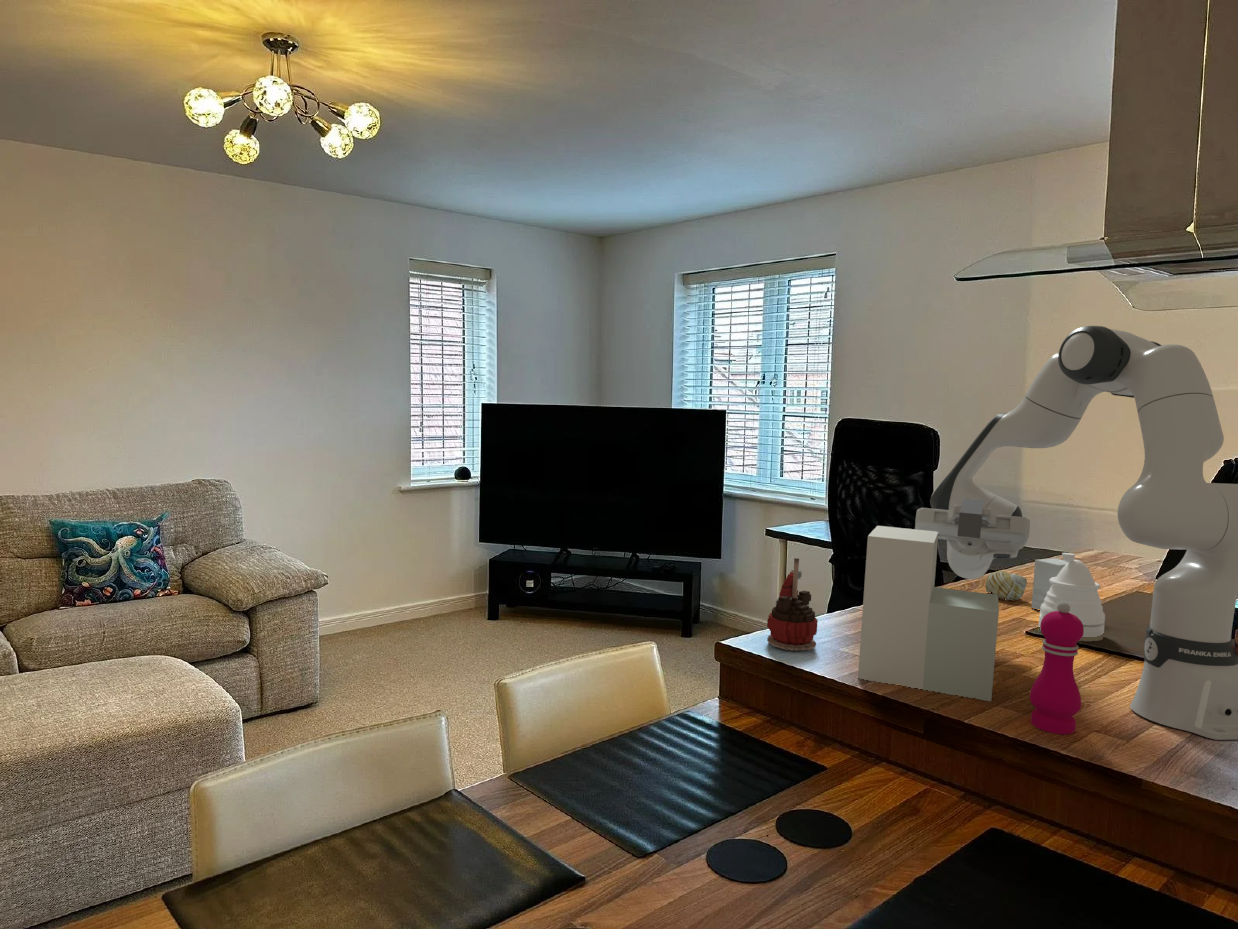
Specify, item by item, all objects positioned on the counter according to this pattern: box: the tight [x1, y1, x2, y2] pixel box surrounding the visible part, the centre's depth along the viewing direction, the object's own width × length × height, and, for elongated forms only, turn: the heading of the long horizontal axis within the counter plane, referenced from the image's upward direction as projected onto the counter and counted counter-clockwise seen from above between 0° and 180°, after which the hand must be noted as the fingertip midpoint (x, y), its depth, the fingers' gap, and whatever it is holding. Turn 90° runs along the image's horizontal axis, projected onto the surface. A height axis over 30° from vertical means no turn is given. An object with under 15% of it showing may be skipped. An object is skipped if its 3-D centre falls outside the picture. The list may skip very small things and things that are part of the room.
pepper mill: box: [1029, 602, 1084, 735], centre depth 132 cm, size 7×7×20 cm
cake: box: [766, 557, 819, 651], centre depth 170 cm, size 11×9×18 cm
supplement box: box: [1031, 558, 1068, 610], centre depth 208 cm, size 7×7×13 cm
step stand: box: [857, 525, 1000, 702], centre depth 153 cm, size 14×22×26 cm, turn 66°
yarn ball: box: [985, 570, 1028, 601], centre depth 221 cm, size 10×10×10 cm
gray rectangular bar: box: [957, 499, 983, 538], centre depth 151 cm, size 22×4×4 cm, turn 156°
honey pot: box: [1038, 552, 1106, 637], centre depth 189 cm, size 13×13×18 cm
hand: (972, 510), depth 157 cm, fingers closed on gray rectangular bar, 3 cm apart
